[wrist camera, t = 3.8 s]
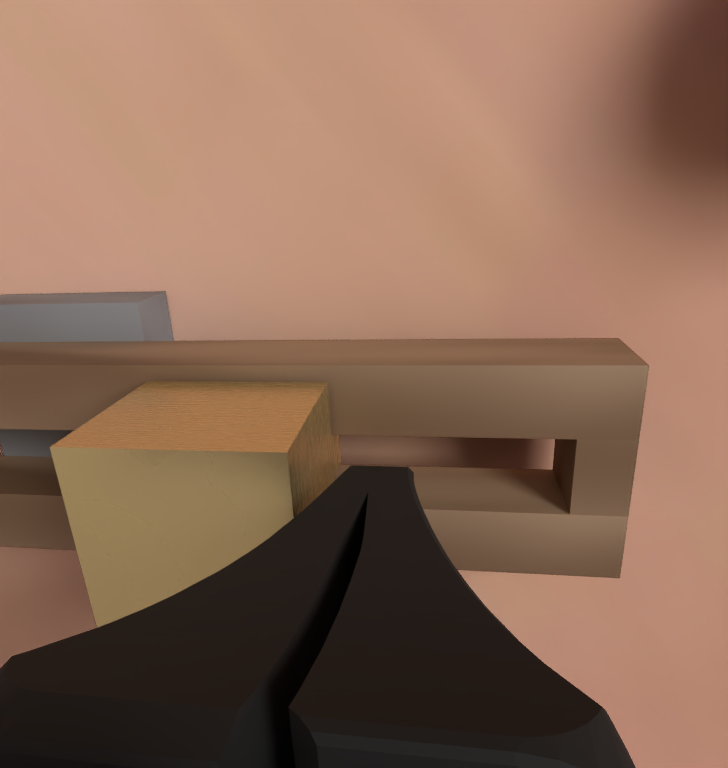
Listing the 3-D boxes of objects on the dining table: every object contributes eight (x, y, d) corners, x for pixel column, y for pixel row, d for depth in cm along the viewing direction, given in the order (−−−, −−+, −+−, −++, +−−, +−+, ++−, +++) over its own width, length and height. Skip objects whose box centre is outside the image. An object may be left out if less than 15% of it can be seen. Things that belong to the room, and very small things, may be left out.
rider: (352, 514, 15) (309, 670, 10) (208, 509, 15) (104, 655, 10) (343, 356, 13) (287, 452, 8) (184, 356, 14) (49, 447, 9)
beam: (579, 525, 16) (663, 736, 10) (-234, 493, 20) (-530, 630, 14) (605, 282, 14) (736, 363, 7) (-324, 301, 17) (-730, 364, 11)
